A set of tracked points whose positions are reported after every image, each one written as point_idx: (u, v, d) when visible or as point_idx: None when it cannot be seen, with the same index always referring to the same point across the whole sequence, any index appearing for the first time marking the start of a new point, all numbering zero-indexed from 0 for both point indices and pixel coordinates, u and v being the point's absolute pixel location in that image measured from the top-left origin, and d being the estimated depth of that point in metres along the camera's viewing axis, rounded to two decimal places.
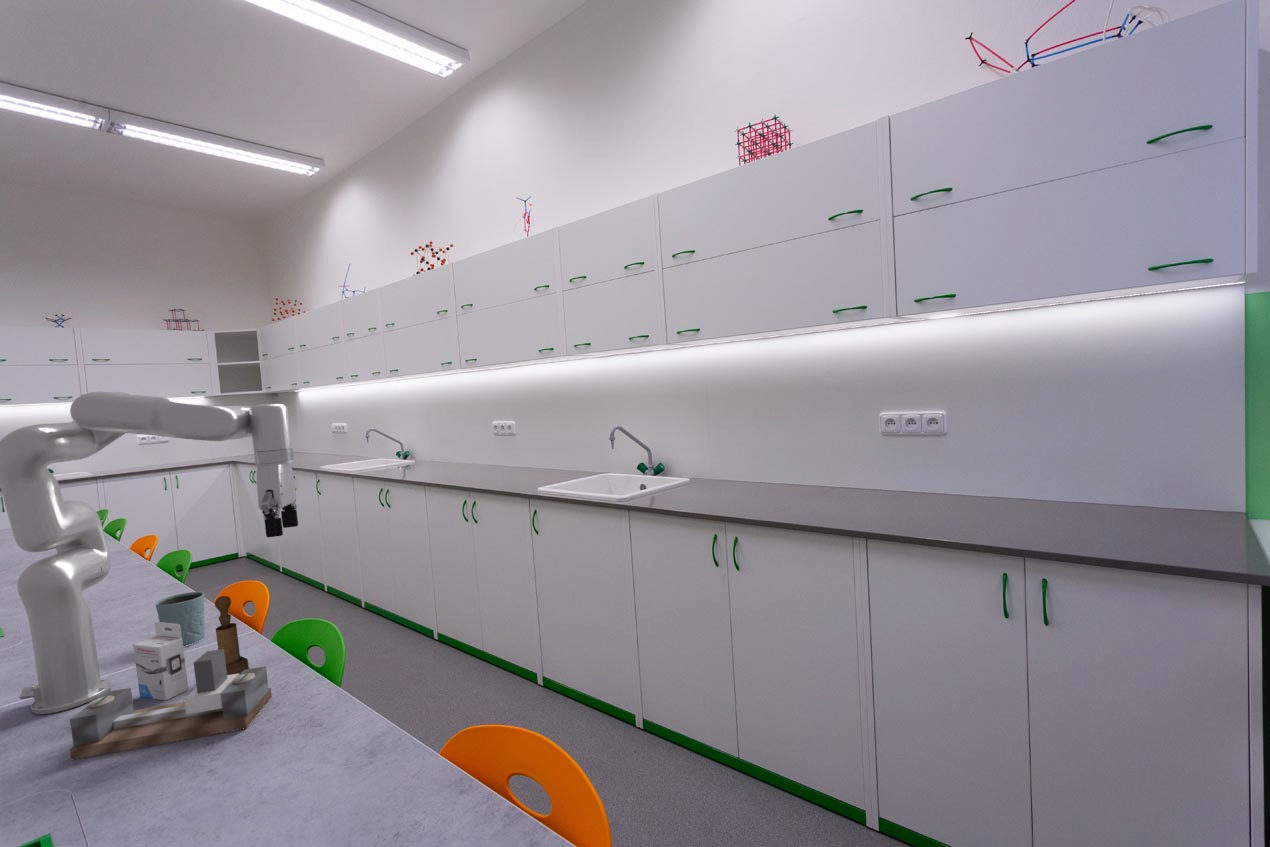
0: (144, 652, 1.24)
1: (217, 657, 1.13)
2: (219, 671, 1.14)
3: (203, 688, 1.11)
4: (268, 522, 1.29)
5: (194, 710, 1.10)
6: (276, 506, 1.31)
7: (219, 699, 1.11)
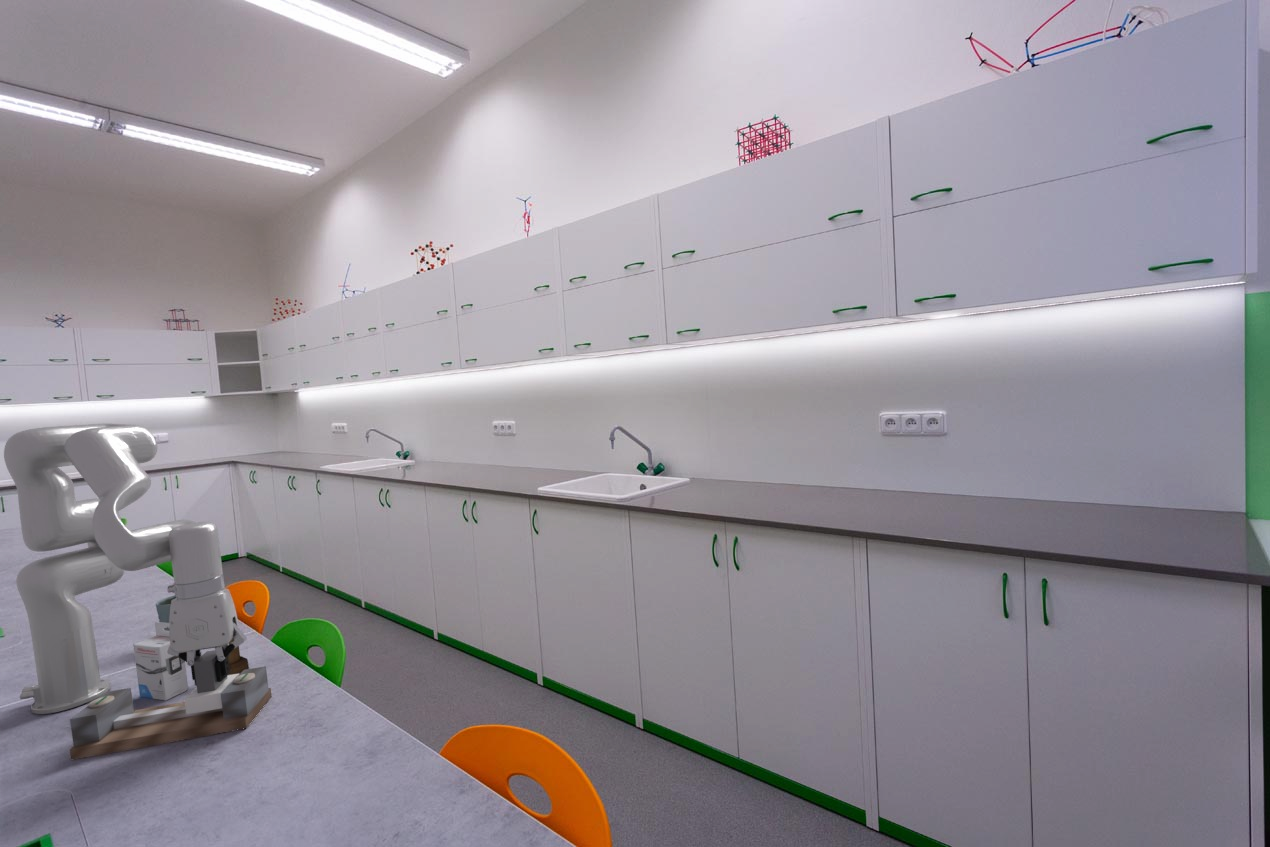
0: (144, 652, 1.24)
1: None
2: None
3: (203, 688, 1.11)
4: (225, 662, 1.14)
5: (194, 710, 1.10)
6: None
7: (219, 699, 1.11)
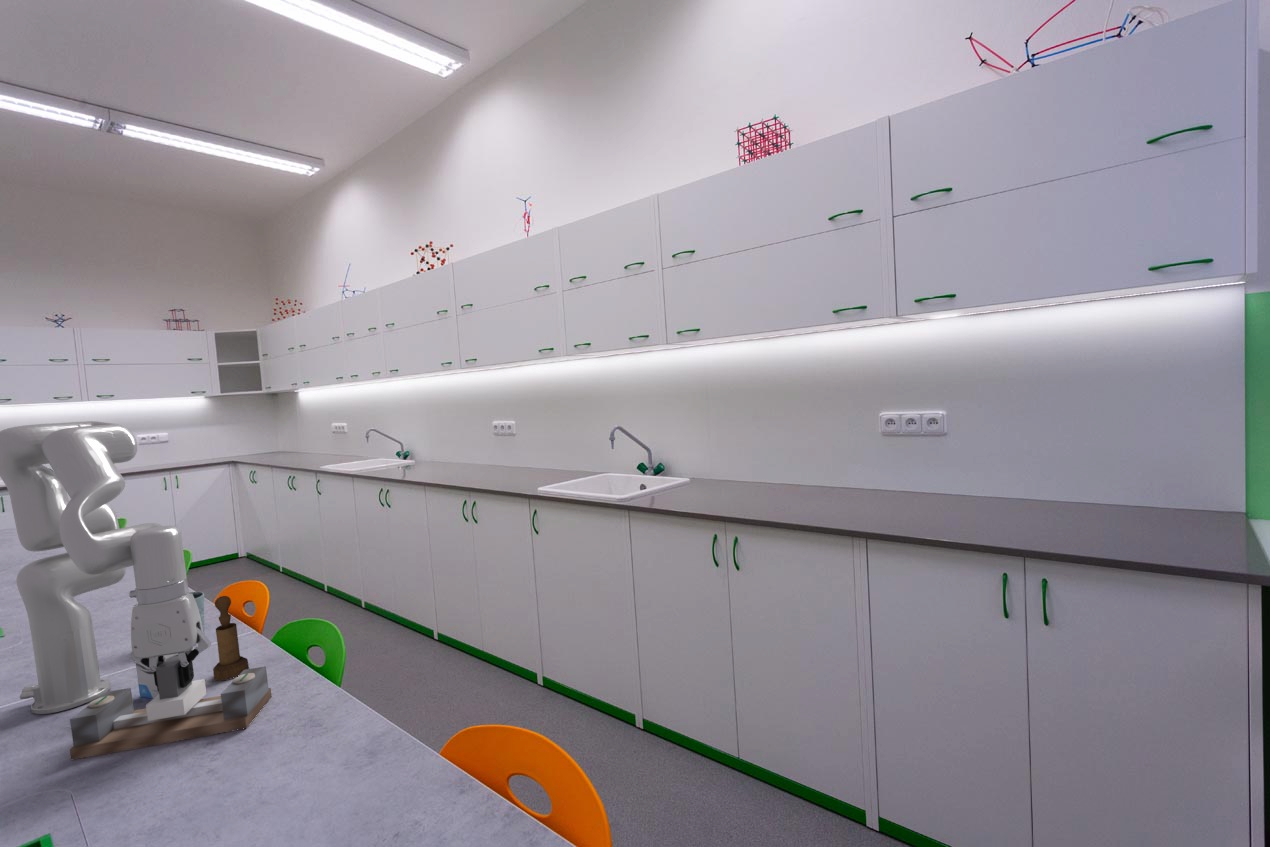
0: None
1: None
2: None
3: (166, 694, 1.10)
4: (188, 667, 1.12)
5: (156, 717, 1.08)
6: None
7: (182, 705, 1.09)
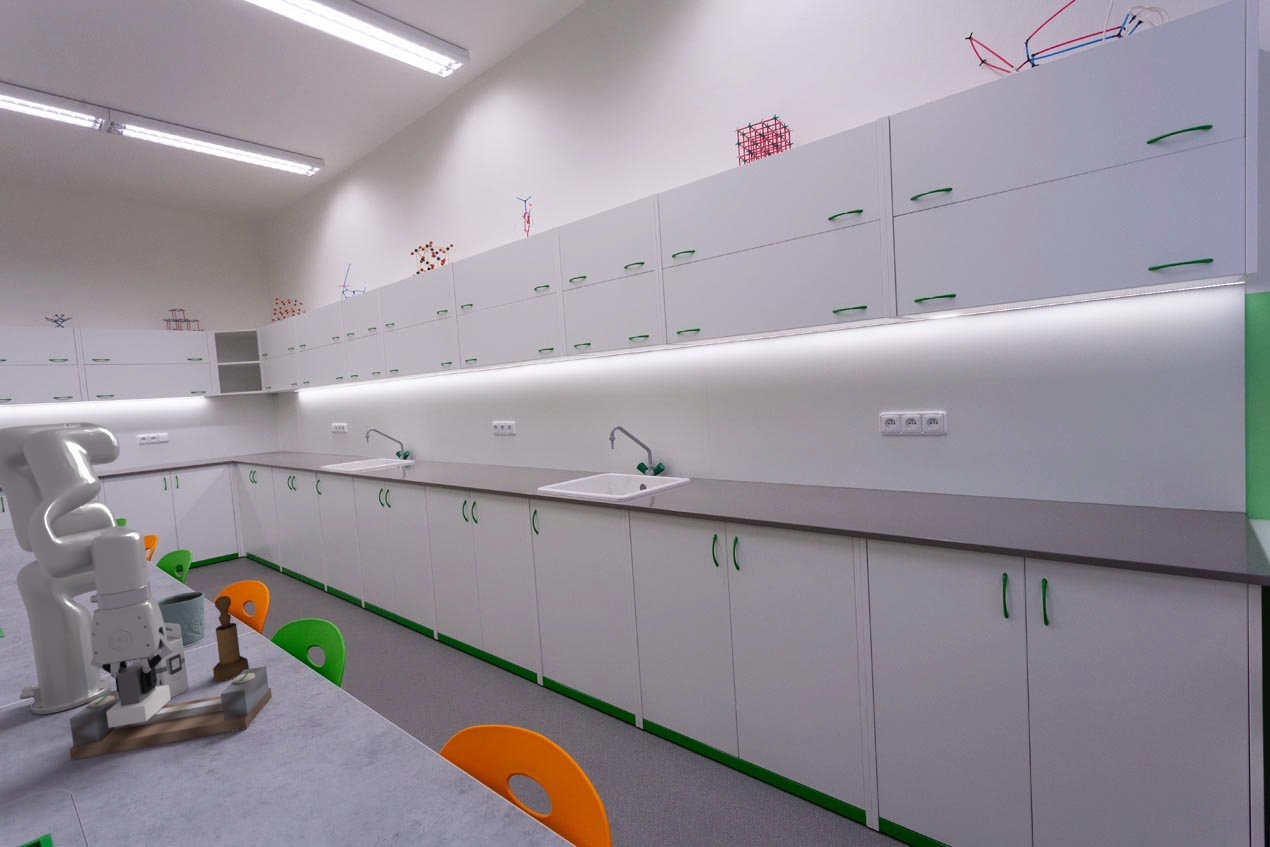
0: None
1: None
2: None
3: (127, 700, 1.09)
4: (151, 673, 1.11)
5: (116, 723, 1.07)
6: None
7: (143, 712, 1.08)
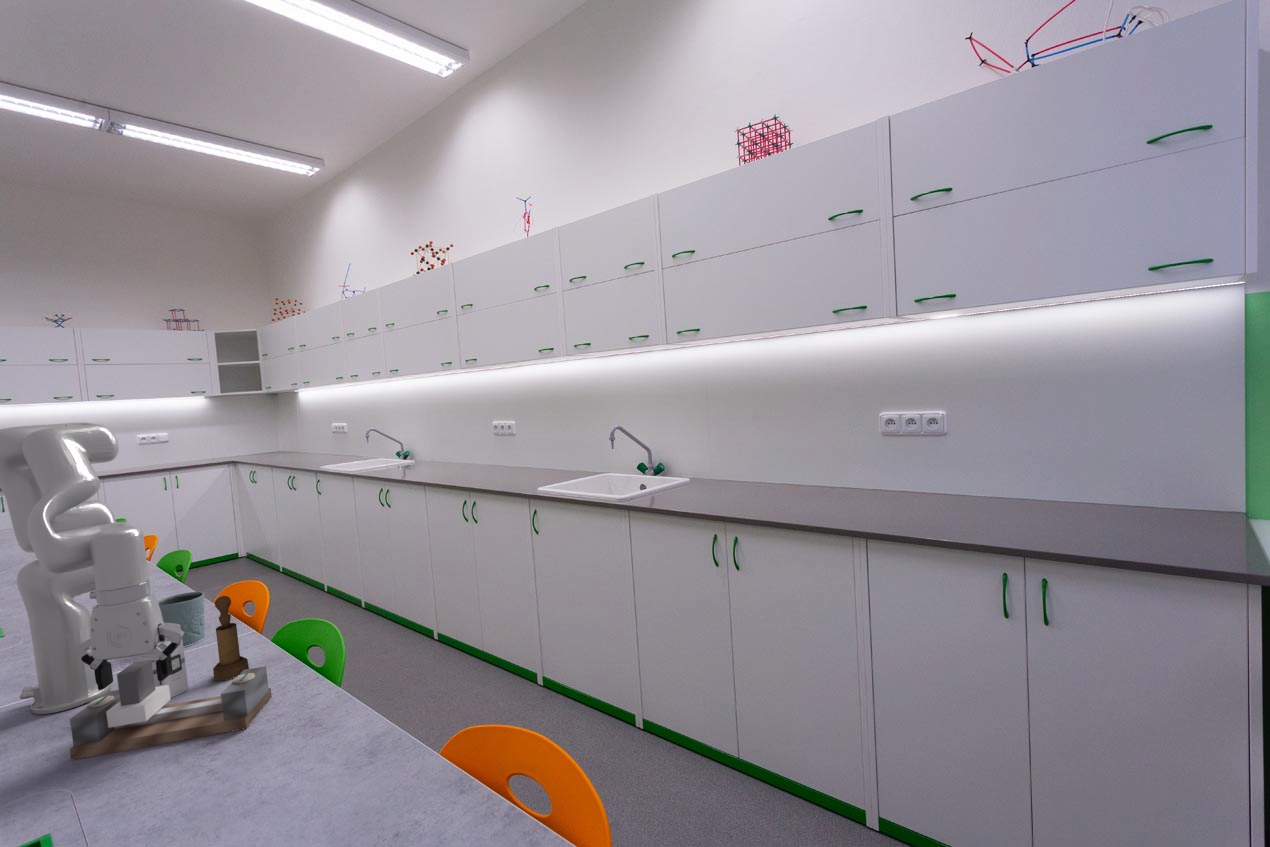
0: None
1: (143, 668, 1.11)
2: (145, 683, 1.11)
3: (127, 700, 1.09)
4: (167, 660, 1.12)
5: (116, 723, 1.07)
6: (162, 642, 1.13)
7: (143, 712, 1.08)
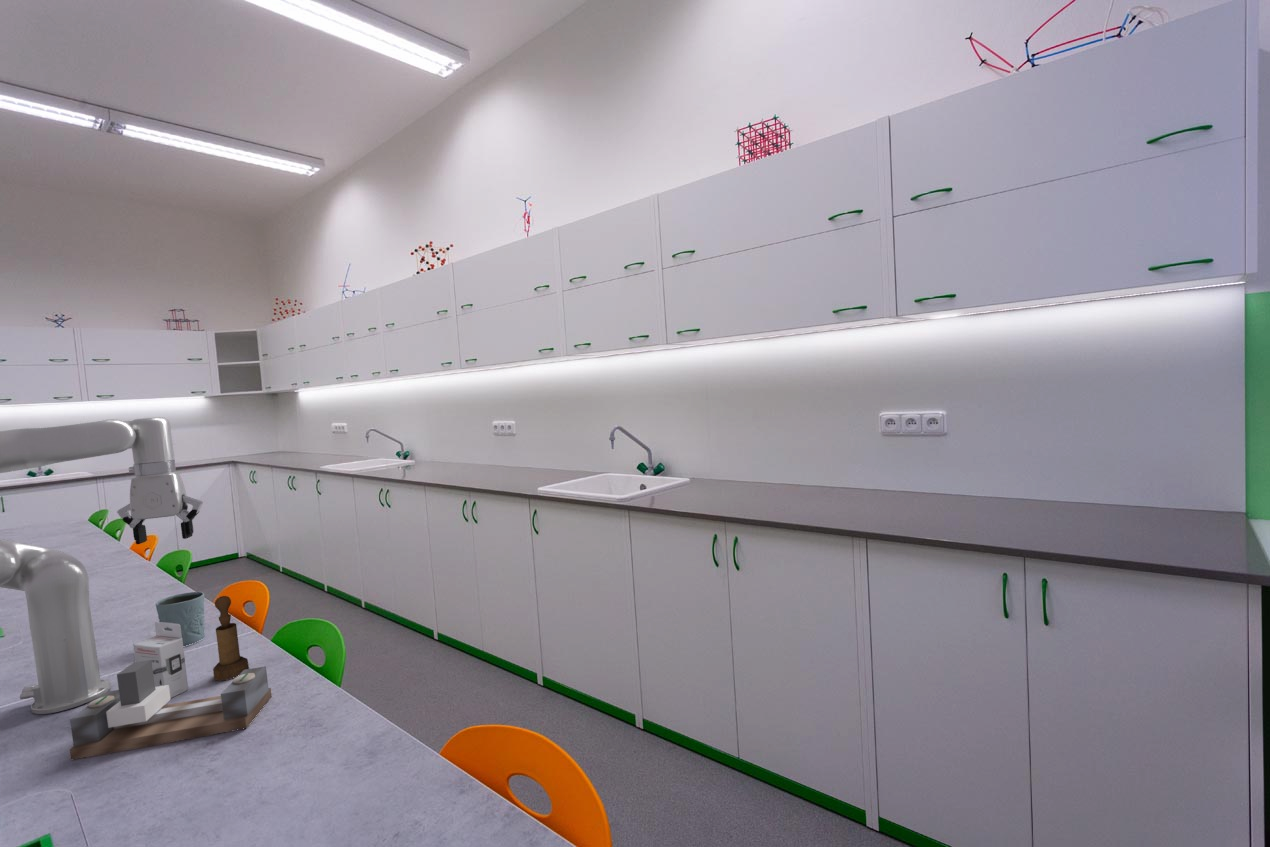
0: (144, 652, 1.24)
1: (143, 668, 1.11)
2: (145, 683, 1.11)
3: (127, 700, 1.09)
4: (189, 523, 1.41)
5: (116, 723, 1.07)
6: (185, 510, 1.42)
7: (143, 712, 1.08)
